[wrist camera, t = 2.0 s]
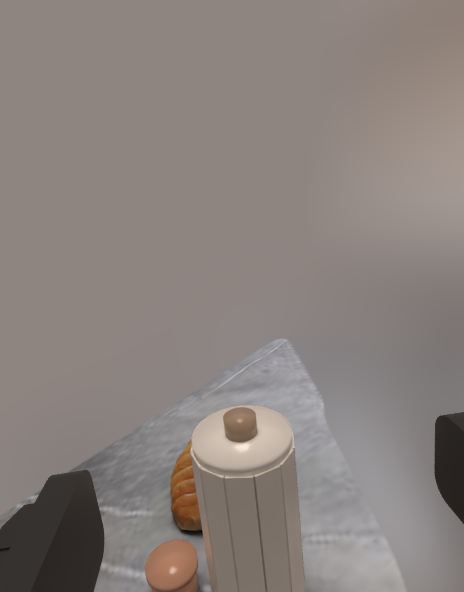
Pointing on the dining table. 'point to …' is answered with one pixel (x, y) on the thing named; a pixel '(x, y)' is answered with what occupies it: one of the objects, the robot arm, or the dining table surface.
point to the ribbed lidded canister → (248, 500)
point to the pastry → (185, 493)
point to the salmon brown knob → (173, 567)
